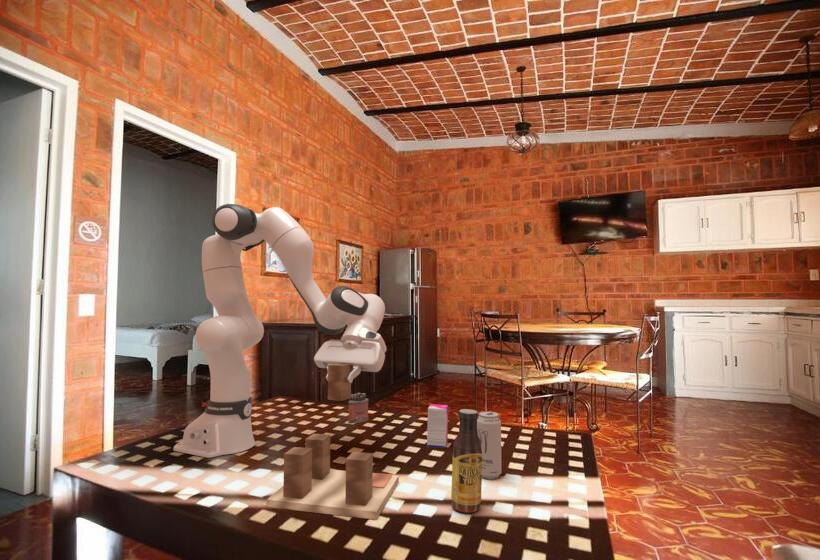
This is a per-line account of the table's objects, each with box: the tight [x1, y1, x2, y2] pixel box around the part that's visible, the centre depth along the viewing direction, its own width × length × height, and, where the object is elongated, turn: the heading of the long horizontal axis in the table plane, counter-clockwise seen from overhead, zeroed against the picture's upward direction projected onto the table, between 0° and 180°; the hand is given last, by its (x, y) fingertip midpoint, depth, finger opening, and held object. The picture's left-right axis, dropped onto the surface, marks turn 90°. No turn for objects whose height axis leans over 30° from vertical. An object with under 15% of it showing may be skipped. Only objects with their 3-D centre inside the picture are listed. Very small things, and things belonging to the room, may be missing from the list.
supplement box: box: [426, 403, 449, 449], centre depth 128 cm, size 6×6×12 cm
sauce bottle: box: [450, 408, 483, 514], centre depth 89 cm, size 7×6×20 cm
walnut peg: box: [327, 363, 352, 402], centre depth 113 cm, size 4×4×9 cm
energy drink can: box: [477, 411, 503, 480], centre depth 106 cm, size 6×6×15 cm
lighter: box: [347, 392, 369, 424], centre depth 154 cm, size 8×3×10 cm, turn 130°
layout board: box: [266, 433, 400, 520], centre depth 95 cm, size 24×18×10 cm
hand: (338, 380), depth 112 cm, fingers closed on walnut peg, 4 cm apart
